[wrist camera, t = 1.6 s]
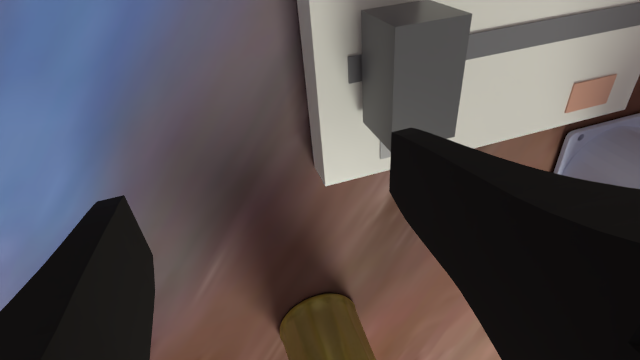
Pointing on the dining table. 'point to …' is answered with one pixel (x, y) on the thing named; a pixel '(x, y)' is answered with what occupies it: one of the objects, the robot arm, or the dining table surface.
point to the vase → (325, 330)
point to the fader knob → (413, 67)
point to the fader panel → (475, 73)
